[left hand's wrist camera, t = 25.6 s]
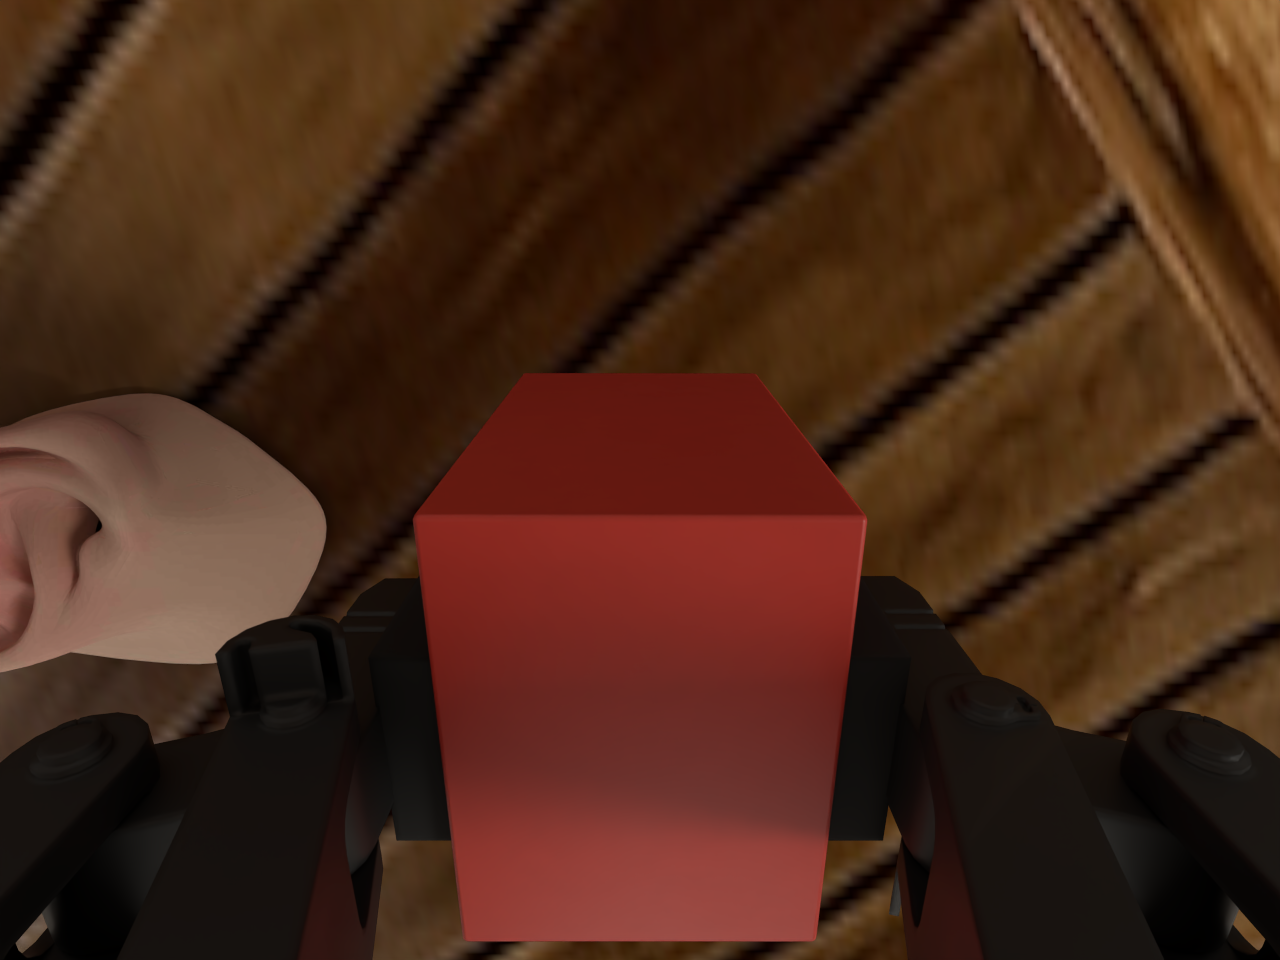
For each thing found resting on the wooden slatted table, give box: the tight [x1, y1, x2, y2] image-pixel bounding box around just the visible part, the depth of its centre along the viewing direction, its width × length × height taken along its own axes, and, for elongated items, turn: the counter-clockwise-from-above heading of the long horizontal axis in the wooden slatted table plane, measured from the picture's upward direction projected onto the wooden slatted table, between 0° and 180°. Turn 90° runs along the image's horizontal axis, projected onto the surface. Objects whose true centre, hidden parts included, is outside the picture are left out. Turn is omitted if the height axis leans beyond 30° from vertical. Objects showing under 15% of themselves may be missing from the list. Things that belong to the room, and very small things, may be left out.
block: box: [413, 373, 867, 941], centre depth 12 cm, size 5×6×7 cm
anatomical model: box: [0, 393, 326, 672], centre depth 24 cm, size 13×4×12 cm
